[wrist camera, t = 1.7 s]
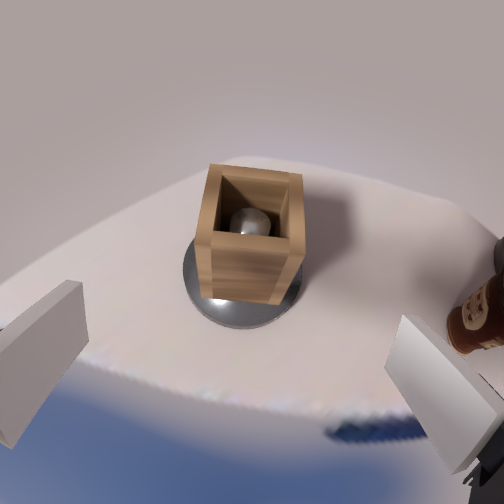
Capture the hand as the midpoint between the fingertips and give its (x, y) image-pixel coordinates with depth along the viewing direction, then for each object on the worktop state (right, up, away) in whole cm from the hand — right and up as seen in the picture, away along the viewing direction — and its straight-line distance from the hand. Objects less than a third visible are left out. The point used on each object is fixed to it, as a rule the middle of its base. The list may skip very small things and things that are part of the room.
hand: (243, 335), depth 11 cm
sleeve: (-1, +2, +19) cm, 19 cm away
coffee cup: (+27, -7, +19) cm, 34 cm away
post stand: (-1, +1, +20) cm, 21 cm away
